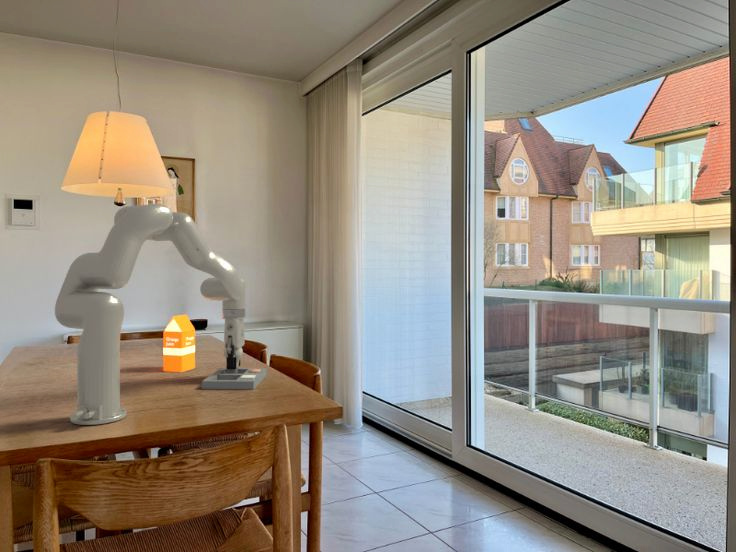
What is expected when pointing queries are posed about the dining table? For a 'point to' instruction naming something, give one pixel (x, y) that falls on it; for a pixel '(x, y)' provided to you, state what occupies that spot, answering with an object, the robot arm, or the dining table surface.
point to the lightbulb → (238, 357)
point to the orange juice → (179, 345)
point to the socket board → (235, 379)
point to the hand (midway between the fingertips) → (233, 367)
